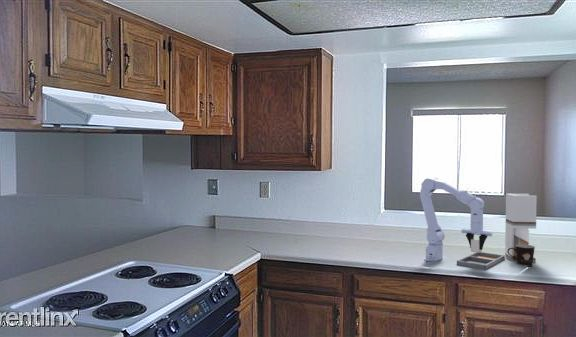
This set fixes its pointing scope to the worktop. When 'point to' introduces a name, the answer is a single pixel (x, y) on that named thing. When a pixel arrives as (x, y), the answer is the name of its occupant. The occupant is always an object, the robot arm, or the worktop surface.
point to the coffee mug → (524, 254)
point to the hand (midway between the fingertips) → (476, 248)
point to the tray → (481, 260)
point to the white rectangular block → (475, 245)
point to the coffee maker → (519, 221)
